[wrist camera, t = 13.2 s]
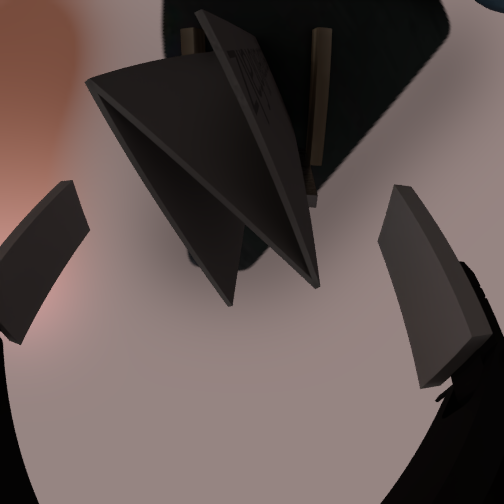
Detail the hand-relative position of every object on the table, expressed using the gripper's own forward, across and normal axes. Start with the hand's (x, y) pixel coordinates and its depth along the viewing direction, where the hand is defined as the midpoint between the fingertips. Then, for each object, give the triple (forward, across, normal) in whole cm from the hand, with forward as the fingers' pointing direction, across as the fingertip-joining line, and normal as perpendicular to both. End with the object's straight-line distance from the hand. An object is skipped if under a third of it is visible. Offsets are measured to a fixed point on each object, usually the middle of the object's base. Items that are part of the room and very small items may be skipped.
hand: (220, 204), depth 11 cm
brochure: (+31, -1, 0) cm, 32 cm away
